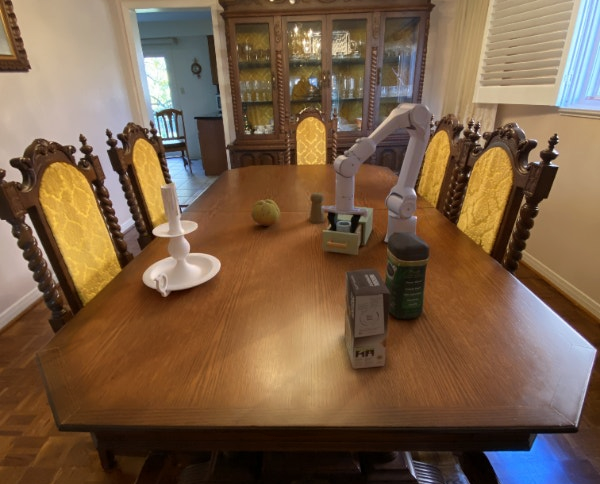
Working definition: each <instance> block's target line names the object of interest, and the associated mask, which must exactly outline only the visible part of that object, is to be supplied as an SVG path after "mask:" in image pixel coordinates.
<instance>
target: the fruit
mask: <svg viewBox="0 0 600 484" xmlns="http://www.w3.org/2000/svg"><path fill="white" fill-rule="evenodd" d="M250 212H251V213H250V214H251V218H252V219H253V221H254V222H255V223H257V225H260V226H265V227H270V226H272V225H274V224H276V223H277V222H278V221H279V220H280V218H281V210H280V207H279V206H278V205H277V203H276V202H275V201H274V200H273V199H267V198H266V199H265V200H264V199H259V200H257V201H256V202H255V203H254V204H253V205H252V209H251V211H250Z"/></svg>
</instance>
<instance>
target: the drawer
mask: <svg viewBox="0 0 600 484" xmlns="http://www.w3.org/2000/svg"><path fill="white" fill-rule="evenodd" d="M362 239H363V224H357V227H356V230H355V233H346V232H338V231H333V230H332V227H331V224H330V225H329V226H328V225H327V228H326V229H322V230H321V251H325V252H332V253H339V254H348V255H354V256H358V255H359V247H360V246H361V245H360V243H361V241H362Z"/></svg>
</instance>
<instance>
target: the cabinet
mask: <svg viewBox="0 0 600 484" xmlns="http://www.w3.org/2000/svg"><path fill="white" fill-rule="evenodd" d="M354 207H356V208H361V209H366V210H368V216H367V218H366V217H363V216H361V218H360V220H359V222H358V224H363V239H362V241H361V243H360V245H359V246H363V247H364V246H366V244H367V243H368V239H369V238H370V235H371V233H372V231H373V222H374V221H373V219H374V208H373V207H367V206H366V207H364V206H355V205H354ZM352 216H353V215H339V214H338V220H337V222H339V221H349V222H351V218H352ZM329 225H330V222H329V220H328V219H327V227H328V226H329Z"/></svg>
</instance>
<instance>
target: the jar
mask: <svg viewBox="0 0 600 484" xmlns="http://www.w3.org/2000/svg"><path fill="white" fill-rule="evenodd" d="M336 231H338V232H346V233H351V222H349V221H339V222H337V223H336Z"/></svg>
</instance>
